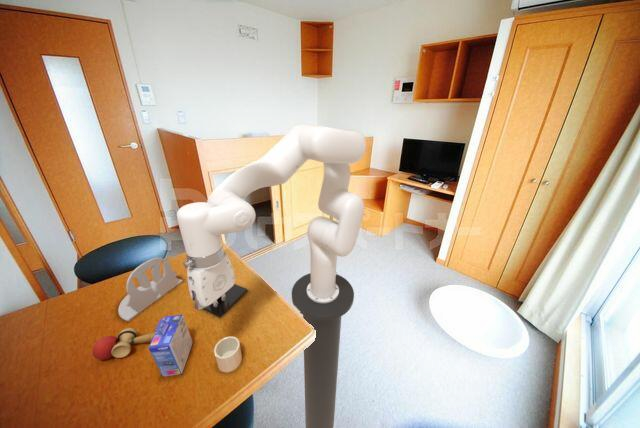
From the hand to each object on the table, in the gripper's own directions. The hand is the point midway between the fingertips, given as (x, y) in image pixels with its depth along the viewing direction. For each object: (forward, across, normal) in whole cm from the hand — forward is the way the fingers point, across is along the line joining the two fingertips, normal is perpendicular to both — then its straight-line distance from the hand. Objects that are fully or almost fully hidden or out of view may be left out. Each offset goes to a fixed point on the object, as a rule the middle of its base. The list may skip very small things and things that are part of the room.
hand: (219, 312), depth 63 cm
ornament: (+17, +4, +46) cm, 50 cm away
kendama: (+17, -11, +27) cm, 34 cm away
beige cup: (+17, -1, -2) cm, 17 cm away
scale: (+17, +15, +19) cm, 30 cm away
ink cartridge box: (+17, -7, +12) cm, 22 cm away
